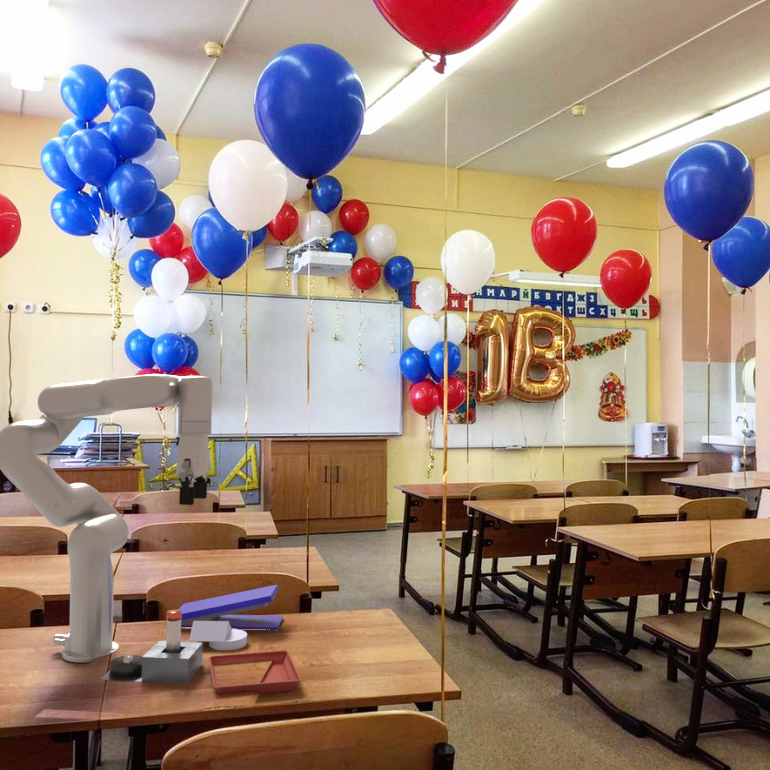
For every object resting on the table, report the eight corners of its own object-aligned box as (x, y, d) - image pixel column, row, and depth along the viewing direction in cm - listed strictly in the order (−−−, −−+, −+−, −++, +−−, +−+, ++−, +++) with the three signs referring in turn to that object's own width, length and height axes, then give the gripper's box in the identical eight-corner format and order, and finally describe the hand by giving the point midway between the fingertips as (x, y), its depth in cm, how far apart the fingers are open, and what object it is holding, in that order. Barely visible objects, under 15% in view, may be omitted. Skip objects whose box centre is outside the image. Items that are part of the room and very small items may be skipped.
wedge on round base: (188, 655, 175) (243, 655, 175) (189, 626, 175) (244, 627, 175) (197, 641, 184) (249, 642, 184) (197, 615, 184) (250, 615, 184)
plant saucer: (287, 663, 172) (287, 649, 172) (301, 694, 155) (301, 678, 155) (207, 670, 167) (208, 655, 167) (213, 703, 149) (213, 687, 149)
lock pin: (163, 675, 160) (164, 613, 160) (168, 669, 163) (169, 609, 163) (177, 675, 159) (178, 614, 159) (182, 669, 163) (183, 609, 163)
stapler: (277, 633, 193) (278, 595, 193) (170, 630, 193) (171, 593, 193) (283, 619, 204) (284, 583, 204) (182, 617, 204) (183, 581, 204)
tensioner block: (99, 685, 156) (99, 655, 156) (120, 665, 167) (121, 638, 167) (187, 689, 155) (187, 659, 155) (202, 669, 166) (203, 641, 166)
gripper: (191, 426, 182) (189, 495, 182) (166, 430, 165) (164, 506, 165) (221, 427, 182) (219, 496, 182) (199, 431, 164) (197, 507, 164)
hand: (193, 501), depth 173 cm, fingers open, 9 cm apart
